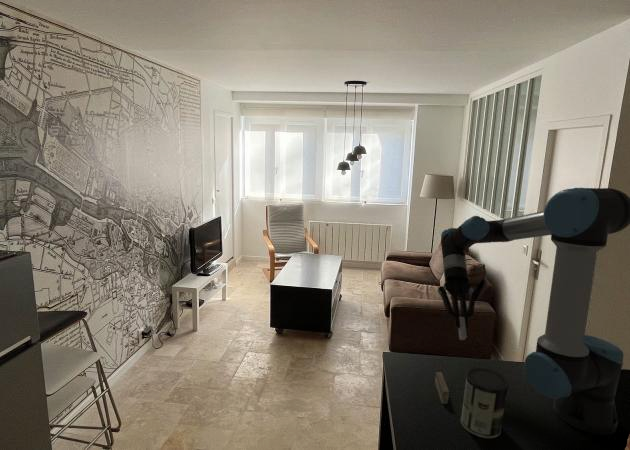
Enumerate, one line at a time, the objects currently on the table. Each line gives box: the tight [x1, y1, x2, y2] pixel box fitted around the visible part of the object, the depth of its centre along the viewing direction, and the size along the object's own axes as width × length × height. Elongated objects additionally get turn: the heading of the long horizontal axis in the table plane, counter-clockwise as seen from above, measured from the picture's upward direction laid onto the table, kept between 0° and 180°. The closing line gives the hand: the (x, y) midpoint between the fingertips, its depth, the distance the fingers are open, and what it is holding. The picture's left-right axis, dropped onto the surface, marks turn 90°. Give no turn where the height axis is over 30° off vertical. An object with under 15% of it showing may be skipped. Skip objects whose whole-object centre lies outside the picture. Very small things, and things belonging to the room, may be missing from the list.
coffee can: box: [460, 367, 510, 439], centre depth 107 cm, size 10×10×14 cm
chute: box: [434, 371, 450, 405], centre depth 121 cm, size 15×10×4 cm
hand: (463, 338), depth 125 cm, fingers closed
